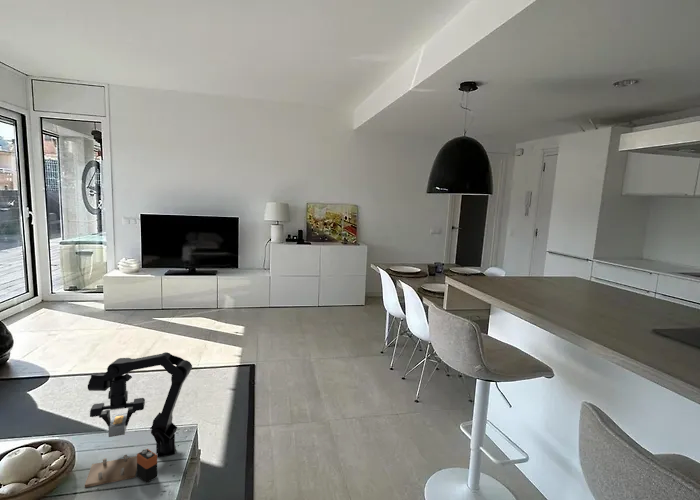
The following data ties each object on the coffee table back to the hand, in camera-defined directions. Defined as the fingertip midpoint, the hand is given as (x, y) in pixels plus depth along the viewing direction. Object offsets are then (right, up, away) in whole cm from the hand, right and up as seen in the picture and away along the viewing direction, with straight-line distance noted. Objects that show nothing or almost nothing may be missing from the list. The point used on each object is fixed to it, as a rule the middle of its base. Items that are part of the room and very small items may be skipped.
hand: (118, 426), depth 157 cm
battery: (+18, -13, -12) cm, 26 cm away
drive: (0, -1, 0) cm, 1 cm away
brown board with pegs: (+4, -12, -11) cm, 17 cm away
